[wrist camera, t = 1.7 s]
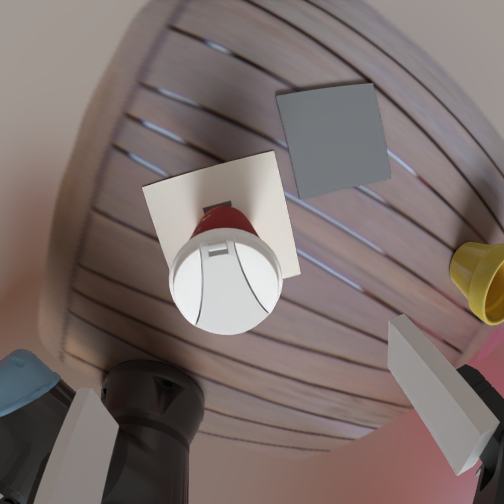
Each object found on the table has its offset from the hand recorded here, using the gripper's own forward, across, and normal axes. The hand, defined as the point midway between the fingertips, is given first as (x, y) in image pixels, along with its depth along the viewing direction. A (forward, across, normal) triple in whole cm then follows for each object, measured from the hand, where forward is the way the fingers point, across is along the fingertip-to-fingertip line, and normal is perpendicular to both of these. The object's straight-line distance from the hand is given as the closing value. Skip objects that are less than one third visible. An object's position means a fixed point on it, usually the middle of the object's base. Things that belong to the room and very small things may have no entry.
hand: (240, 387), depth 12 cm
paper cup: (+23, 0, 0) cm, 23 cm away
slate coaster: (+22, +14, +7) cm, 27 cm away
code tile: (+23, 0, 0) cm, 23 cm away
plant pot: (+23, +32, -12) cm, 41 cm away
